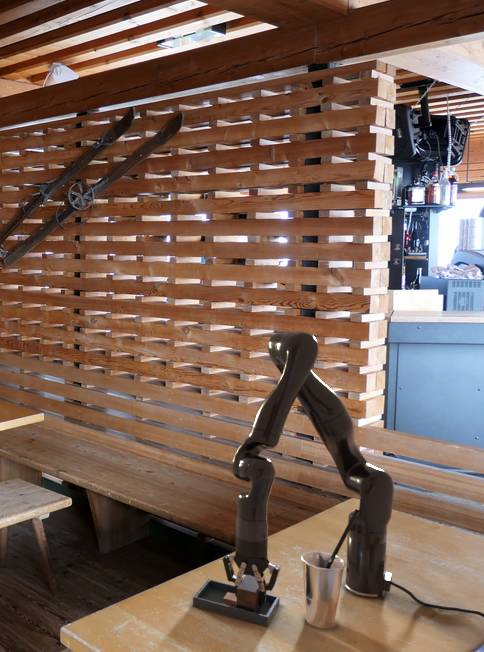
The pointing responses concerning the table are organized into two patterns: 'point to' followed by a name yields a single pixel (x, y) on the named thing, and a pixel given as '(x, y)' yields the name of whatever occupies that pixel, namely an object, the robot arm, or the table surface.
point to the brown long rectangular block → (248, 594)
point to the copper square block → (230, 599)
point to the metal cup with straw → (323, 583)
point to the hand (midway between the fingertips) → (250, 601)
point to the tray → (213, 601)
